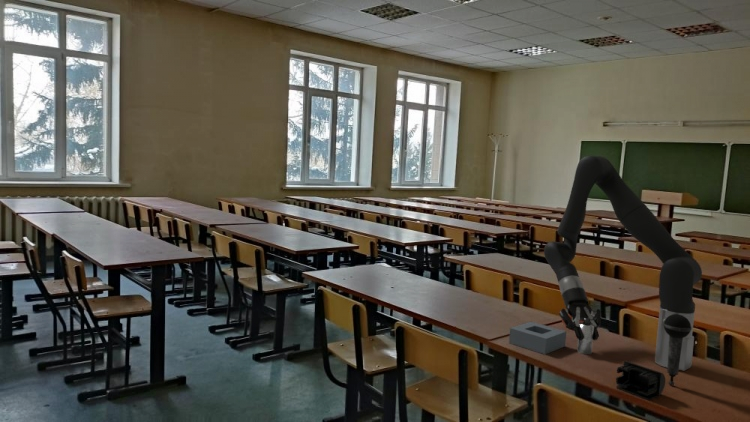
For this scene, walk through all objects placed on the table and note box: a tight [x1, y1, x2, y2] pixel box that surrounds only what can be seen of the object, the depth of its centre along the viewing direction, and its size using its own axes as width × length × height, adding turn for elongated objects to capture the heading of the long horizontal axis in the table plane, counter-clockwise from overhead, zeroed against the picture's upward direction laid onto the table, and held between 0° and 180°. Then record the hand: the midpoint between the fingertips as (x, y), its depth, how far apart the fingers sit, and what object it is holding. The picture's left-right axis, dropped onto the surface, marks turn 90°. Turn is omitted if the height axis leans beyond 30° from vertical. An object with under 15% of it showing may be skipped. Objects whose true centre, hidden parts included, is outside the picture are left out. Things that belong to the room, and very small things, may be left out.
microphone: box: [663, 314, 692, 387], centre depth 150 cm, size 7×7×20 cm
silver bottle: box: [576, 318, 594, 355], centre depth 175 cm, size 4×4×11 cm
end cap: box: [615, 360, 666, 401], centre depth 145 cm, size 10×7×7 cm
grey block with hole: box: [508, 321, 567, 355], centre depth 180 cm, size 13×13×5 cm
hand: (588, 339), depth 173 cm, fingers closed on silver bottle, 4 cm apart
